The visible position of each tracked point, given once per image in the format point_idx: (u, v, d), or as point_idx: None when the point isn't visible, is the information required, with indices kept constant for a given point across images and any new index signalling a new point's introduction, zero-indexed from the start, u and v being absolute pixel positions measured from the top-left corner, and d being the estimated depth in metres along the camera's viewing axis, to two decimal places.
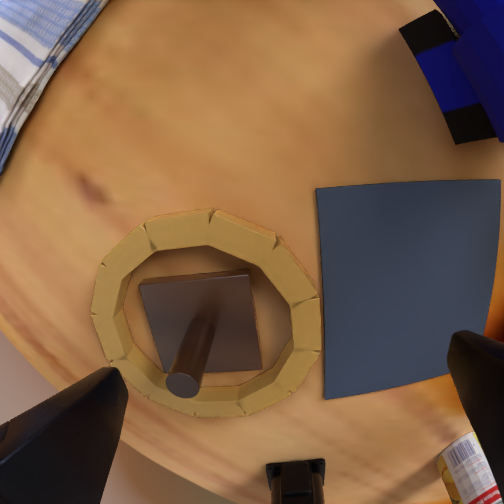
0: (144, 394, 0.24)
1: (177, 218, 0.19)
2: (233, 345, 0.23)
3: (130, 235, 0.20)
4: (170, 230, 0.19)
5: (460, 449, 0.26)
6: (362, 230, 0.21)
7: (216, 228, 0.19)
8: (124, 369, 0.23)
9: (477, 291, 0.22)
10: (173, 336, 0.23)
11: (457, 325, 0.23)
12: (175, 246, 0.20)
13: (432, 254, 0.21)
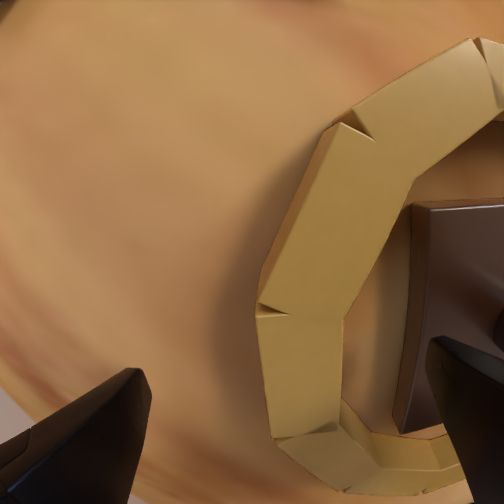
0: (340, 488, 0.09)
1: None
2: None
3: (450, 54, 0.05)
4: None
5: None
6: None
7: None
8: (316, 452, 0.08)
9: None
10: None
11: None
12: None
13: None
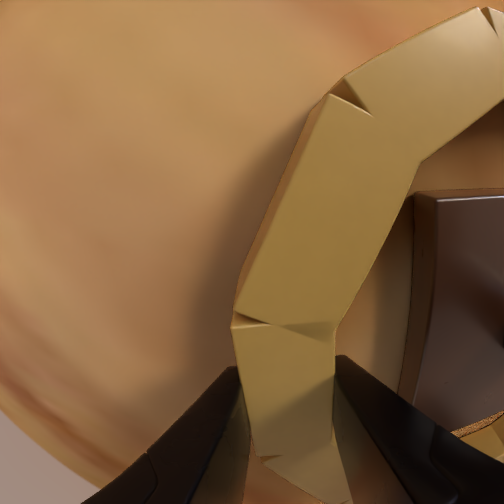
0: (335, 503, 0.08)
1: None
2: None
3: (456, 21, 0.04)
4: None
5: None
6: None
7: None
8: (307, 470, 0.07)
9: None
10: (470, 354, 0.07)
11: None
12: None
13: None
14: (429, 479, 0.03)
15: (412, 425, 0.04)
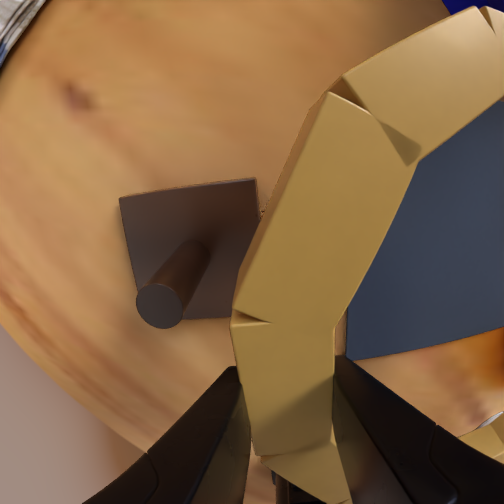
0: (334, 502, 0.08)
1: None
2: (233, 278, 0.18)
3: (454, 20, 0.04)
4: None
5: None
6: None
7: None
8: (306, 469, 0.07)
9: None
10: (157, 266, 0.18)
11: (495, 269, 0.18)
12: None
13: (466, 174, 0.16)
14: (428, 479, 0.03)
15: (411, 425, 0.04)
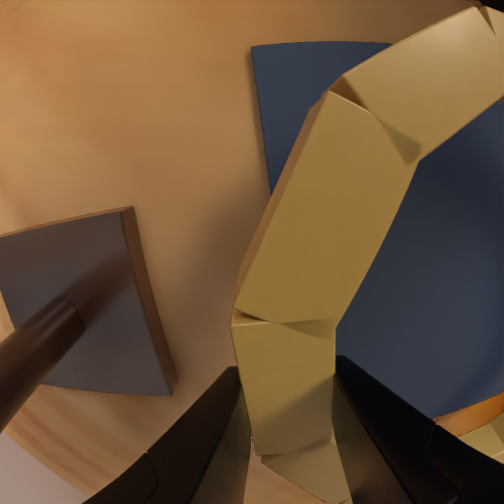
0: (335, 502, 0.08)
1: None
2: (116, 350, 0.12)
3: (454, 20, 0.04)
4: None
5: None
6: None
7: None
8: (307, 469, 0.07)
9: None
10: None
11: None
12: None
13: (483, 184, 0.10)
14: (428, 479, 0.03)
15: (411, 425, 0.04)
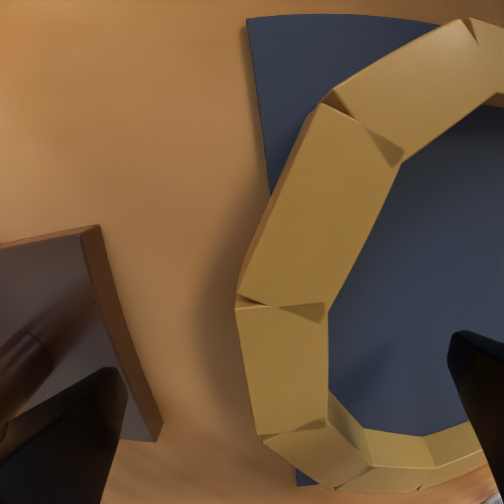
0: (332, 485, 0.09)
1: None
2: None
3: (438, 33, 0.05)
4: None
5: None
6: None
7: None
8: (304, 450, 0.08)
9: None
10: None
11: None
12: None
13: None
14: None
15: None
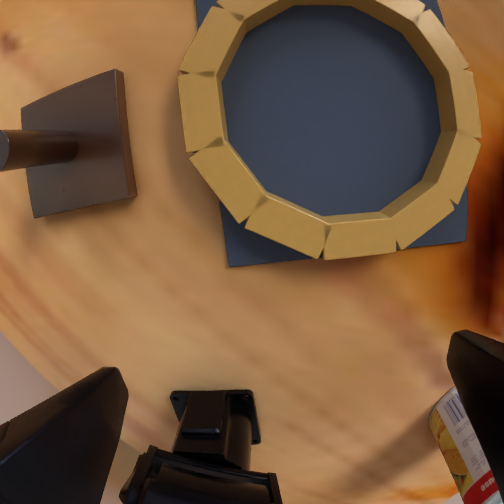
0: (240, 218, 0.16)
1: None
2: (96, 162, 0.16)
3: None
4: None
5: None
6: None
7: None
8: (214, 167, 0.15)
9: None
10: None
11: (421, 158, 0.16)
12: None
13: (352, 46, 0.15)
14: None
15: None
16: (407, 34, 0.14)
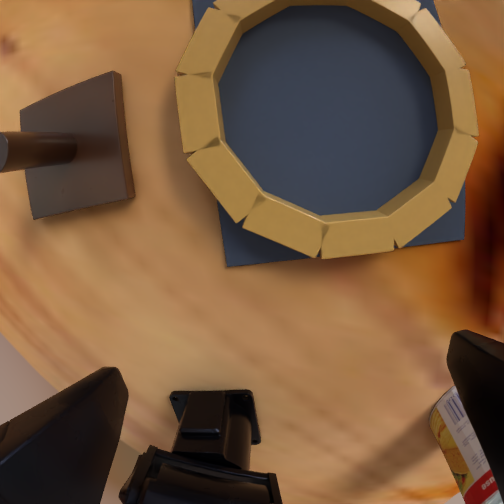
0: (237, 217, 0.16)
1: None
2: (95, 163, 0.17)
3: None
4: None
5: None
6: None
7: None
8: (211, 167, 0.15)
9: None
10: None
11: (418, 156, 0.16)
12: None
13: (348, 45, 0.15)
14: None
15: None
16: (403, 33, 0.14)
